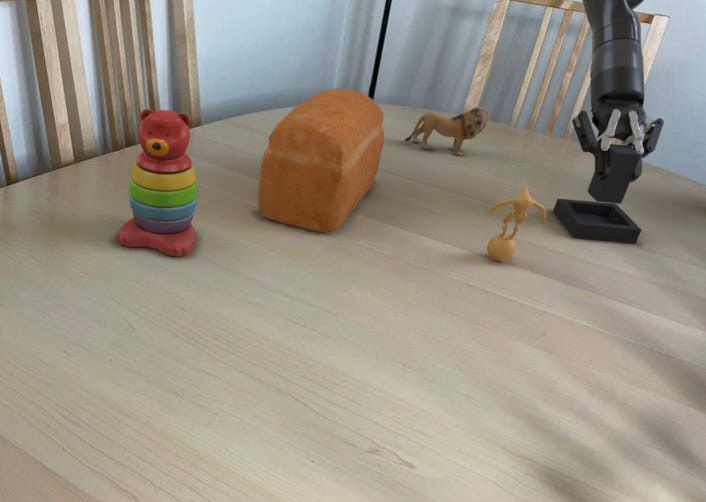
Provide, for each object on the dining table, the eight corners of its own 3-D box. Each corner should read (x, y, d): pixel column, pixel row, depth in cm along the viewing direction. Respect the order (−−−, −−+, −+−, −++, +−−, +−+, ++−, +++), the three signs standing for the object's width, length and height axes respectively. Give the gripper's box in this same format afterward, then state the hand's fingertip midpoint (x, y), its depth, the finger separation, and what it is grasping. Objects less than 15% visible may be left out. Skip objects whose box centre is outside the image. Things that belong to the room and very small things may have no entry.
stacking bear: (111, 244, 103) (110, 115, 92) (138, 215, 111) (140, 95, 101) (185, 259, 101) (192, 130, 91) (207, 229, 109) (216, 108, 99)
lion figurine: (477, 149, 149) (489, 104, 144) (479, 159, 144) (492, 112, 139) (403, 139, 150) (413, 94, 145) (403, 147, 146) (413, 101, 141)
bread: (379, 181, 130) (398, 89, 121) (336, 238, 110) (354, 134, 101) (305, 163, 134) (318, 74, 125) (250, 216, 114) (260, 113, 105)
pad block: (611, 193, 120) (630, 145, 116) (621, 203, 117) (641, 155, 113) (586, 191, 120) (605, 143, 116) (596, 201, 117) (615, 152, 113)
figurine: (523, 256, 110) (549, 180, 103) (532, 276, 105) (561, 197, 98) (467, 250, 111) (489, 173, 104) (473, 269, 106) (498, 190, 99)
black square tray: (610, 216, 126) (616, 203, 125) (635, 243, 118) (641, 229, 116) (552, 211, 126) (557, 198, 124) (573, 238, 117) (579, 224, 116)
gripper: (585, 59, 114) (585, 164, 111) (675, 68, 115) (679, 173, 111) (561, 85, 121) (561, 184, 118) (646, 93, 122) (649, 192, 119)
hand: (618, 178), depth 115 cm, fingers closed on pad block, 4 cm apart
